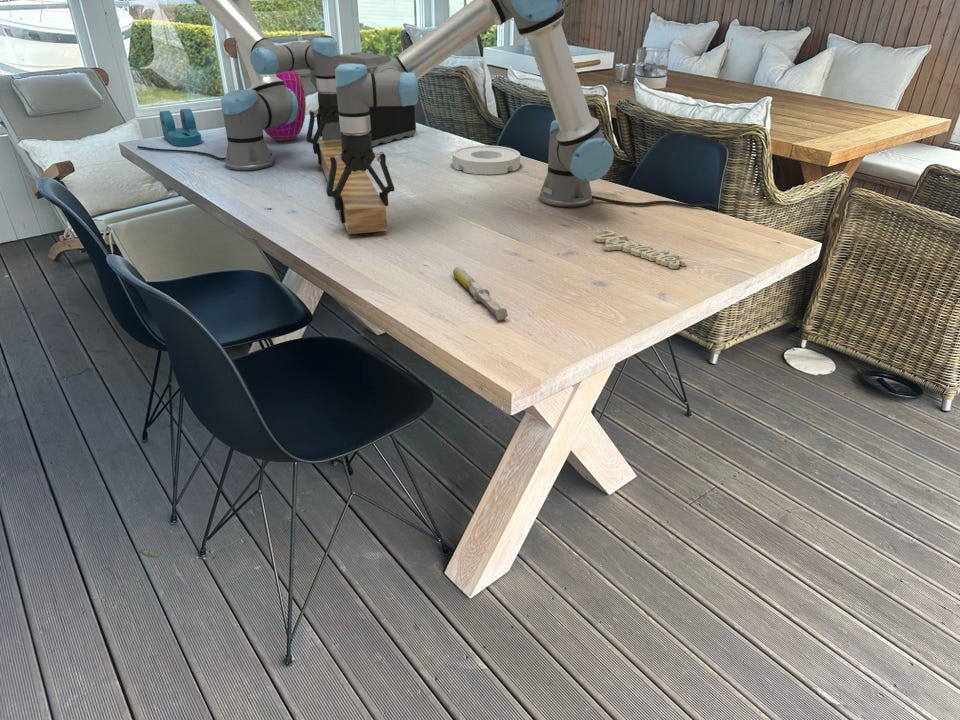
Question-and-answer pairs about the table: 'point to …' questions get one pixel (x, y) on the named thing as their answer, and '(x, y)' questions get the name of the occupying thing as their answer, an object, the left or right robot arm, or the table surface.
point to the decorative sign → (639, 249)
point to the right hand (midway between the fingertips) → (363, 219)
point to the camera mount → (180, 135)
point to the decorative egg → (294, 128)
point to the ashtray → (486, 159)
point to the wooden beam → (355, 194)
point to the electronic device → (382, 118)
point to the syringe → (479, 293)
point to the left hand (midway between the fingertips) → (336, 162)
